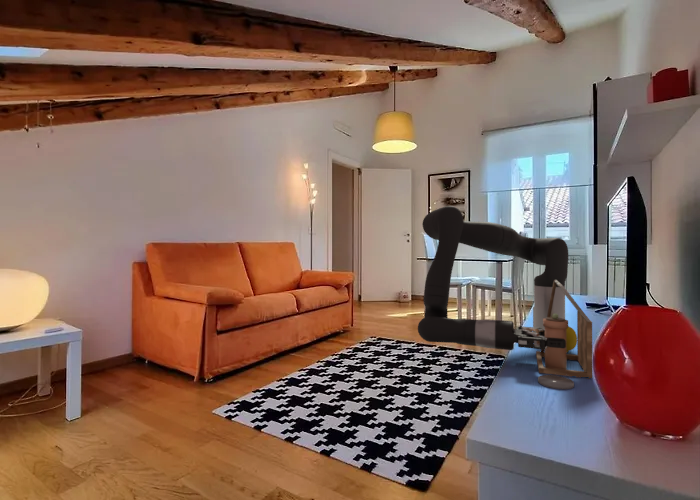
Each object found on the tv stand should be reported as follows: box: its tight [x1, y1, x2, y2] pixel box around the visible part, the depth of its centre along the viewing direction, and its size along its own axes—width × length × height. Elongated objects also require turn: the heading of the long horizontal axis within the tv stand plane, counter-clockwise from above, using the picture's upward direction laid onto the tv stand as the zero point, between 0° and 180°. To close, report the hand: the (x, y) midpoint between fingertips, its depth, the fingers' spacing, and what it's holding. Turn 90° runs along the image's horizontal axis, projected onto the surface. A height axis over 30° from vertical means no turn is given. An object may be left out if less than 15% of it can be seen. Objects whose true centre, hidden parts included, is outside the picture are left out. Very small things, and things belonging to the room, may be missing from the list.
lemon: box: [566, 325, 577, 353], centre depth 110 cm, size 6×6×8 cm
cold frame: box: [535, 280, 593, 379], centre depth 97 cm, size 16×11×21 cm
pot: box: [543, 314, 569, 370], centre depth 96 cm, size 6×6×14 cm
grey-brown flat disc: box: [537, 374, 575, 390], centre depth 85 cm, size 7×7×1 cm
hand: (563, 339), depth 95 cm, fingers open, 8 cm apart
